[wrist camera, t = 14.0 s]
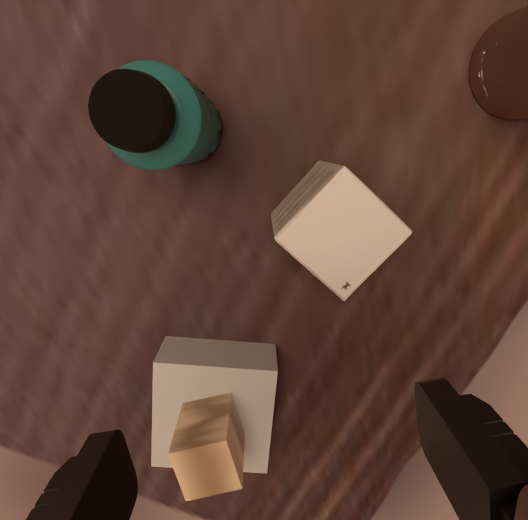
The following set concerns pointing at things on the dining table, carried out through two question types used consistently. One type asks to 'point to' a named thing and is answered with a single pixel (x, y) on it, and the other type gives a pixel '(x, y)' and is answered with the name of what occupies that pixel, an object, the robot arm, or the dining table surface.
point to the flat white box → (215, 390)
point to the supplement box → (337, 227)
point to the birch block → (208, 447)
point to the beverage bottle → (153, 116)
